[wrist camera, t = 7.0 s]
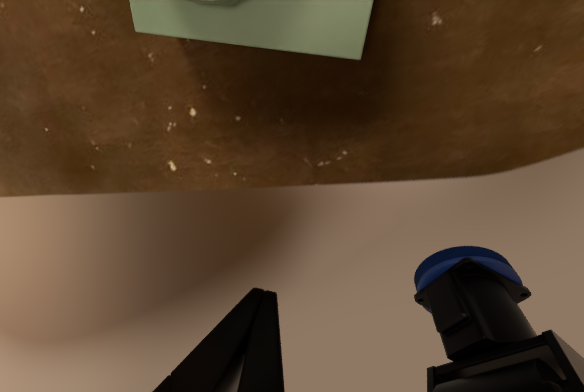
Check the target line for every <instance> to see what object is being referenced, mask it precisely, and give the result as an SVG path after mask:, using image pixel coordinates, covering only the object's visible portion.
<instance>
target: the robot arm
mask: <svg viewBox="0 0 584 392" xmlns="http://www.w3.org/2000/svg"><path fill="white" fill-rule="evenodd" d="M467 263H468V264H467ZM530 296H531V292H530V291H529V290H528V288H526V287H524V286H523V285H521V284H519V283H517V282H515V281H513V280H511V279H510V278H508V277H506V276H504V275H502V274H500V273H498V272H496V271H495V270H493V269H491V268H489V267H487V266H485V265H483V264H481V263H480V262H478V261H476V260H474V259H472V258H470V257H465V258H463V259H461V260H460V261H458V262H457V263H456V264H454V265H453V266H452V267H450V268H449V269H448V270H447V271H445V272H444V273H443V274H441V275H440V276H439V277H437V278H436V279H435V280H433V281H432V282H431V283H430V284H428V285H427V286H426V287H424V288H423V289H422V290H420V291H419V292H418V293H416V294H415V295H414V298H415V301H416V302H417V303H418V304H420V305H422V306H424V307H426V308H428V309H430V310H431V313H432V316H433V319H434V323H435V326H436V329H437V332H439V333H440V335H441V339H442V342H443V345H444V348H445V351H446V355H447V358H448V359H450V360H452V361H453V362H450V363H447V364H444V365H440V366H437V367H435V366H432V367H429V368H427V392H584V358H583V357H582V356H580V355H579V354H578V353H577V352H576V351H575V350H574V349H573V348H571V347H570V346H569V345H568V344H567V343H566V342H565V341H564V340H562V339H561V338H560V337H559V336H558V335H557V334H556V333H555V332H553V331H552V330H548V331H545V332H542V334H541V335H538V336H537V334H536V333H535V331H534V330H533V328H532V327H531V325H530V323H529V322H528V320H527V319H526V317H525V316H524V314H523V313H522V311H521V309H520V308H519V307H518V305H517V304H518V303H520V302H521V301H523V300H525V299H527V298H529V297H530ZM153 392H284V379H283V366H282V355H281V341H280V328H279V315H278V303H277V294H276V292H272V291H264V290H263V289H259V288H253V289H252V290H251V291H250V292H249V293H248V294H247V295H246V296H245V297H244V298H243V299H242V300H241V301H240V302H239V303H238V304H237V305H236V306H235V307H234V308H233V309H232V310H231V312H229V313H228V314H227V315H226V316H225V317H224V319H223V320H222V321H221V322H220V323H219V324H218V325H217V326H216V327H215V328H214V329H213V330H212V331H211V332H210V333H209V334H208V335H207V336H206V337H205V338H204V339H203V340H202V341H201V342H200V343H199V344H198V345H197V346H196V348H194V350H193V351H192V352H191V353H190V354H189V355H188V356H187V357H186V358H185V359H184V360H183V361H182V362H181V363H180V364H179V365H178V366H177V367H176V368H175V369H174V370H173V371H172V372H171V376H170V375H169V376H167V377H166V378H165V379H164V380H163V381H162V383H161V384H160V385H159V386H158V387H157V388H156V389H155V390H154V391H153Z"/></svg>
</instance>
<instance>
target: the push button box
mask: <svg viewBox="0 0 584 392" xmlns="http://www.w3.org/2000/svg"><path fill="white" fill-rule="evenodd" d="M129 1H130V6H131V12H132V17H133V22H134V27H135V31H136V32H139V33H147V34H155V35H162V36H170V37H178V38H186V39H194V40H202V41H210V42H218V43H226V44H234V45H242V46H250V47H258V48H266V49H274V50H282V51H290V52H298V53H306V54H313V55H321V56H329V57H337V58H345V59H353V60H361V56H362V52H363V47H364V42H365V38H366V33H367V28H368V24H369V19H370V15H371V10H372V5H373V1H374V0H129Z"/></svg>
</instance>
